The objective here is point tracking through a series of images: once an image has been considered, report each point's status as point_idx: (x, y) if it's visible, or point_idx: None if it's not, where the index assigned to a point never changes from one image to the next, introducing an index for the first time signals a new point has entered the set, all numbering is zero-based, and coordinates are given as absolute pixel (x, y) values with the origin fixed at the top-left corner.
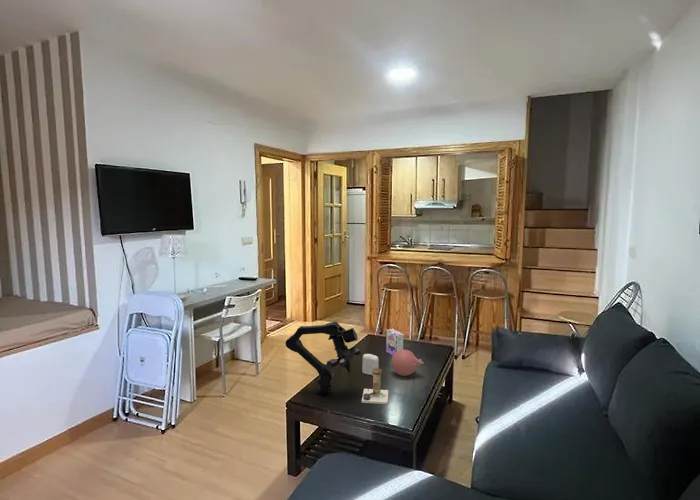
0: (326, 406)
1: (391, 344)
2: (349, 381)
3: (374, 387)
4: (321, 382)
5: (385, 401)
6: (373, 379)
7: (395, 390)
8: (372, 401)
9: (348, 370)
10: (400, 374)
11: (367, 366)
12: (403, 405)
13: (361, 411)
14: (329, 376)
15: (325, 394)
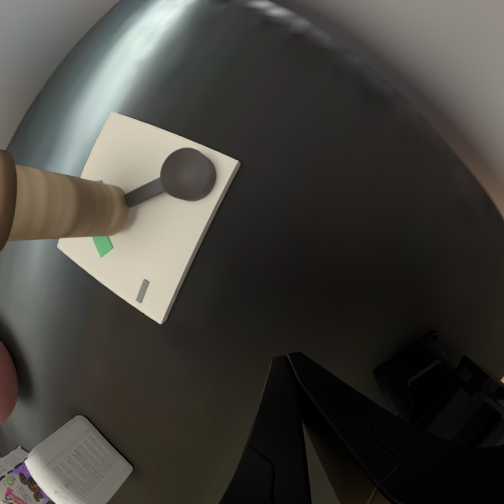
0: (464, 201)
1: (26, 490)
2: (216, 445)
3: (100, 192)
4: (493, 376)
5: (114, 122)
6: (58, 200)
7: (40, 249)
8: (176, 135)
9: (302, 378)
10: (5, 350)
11: (94, 470)
12: (73, 100)
13: (283, 69)
14: (485, 390)
15: (430, 342)
